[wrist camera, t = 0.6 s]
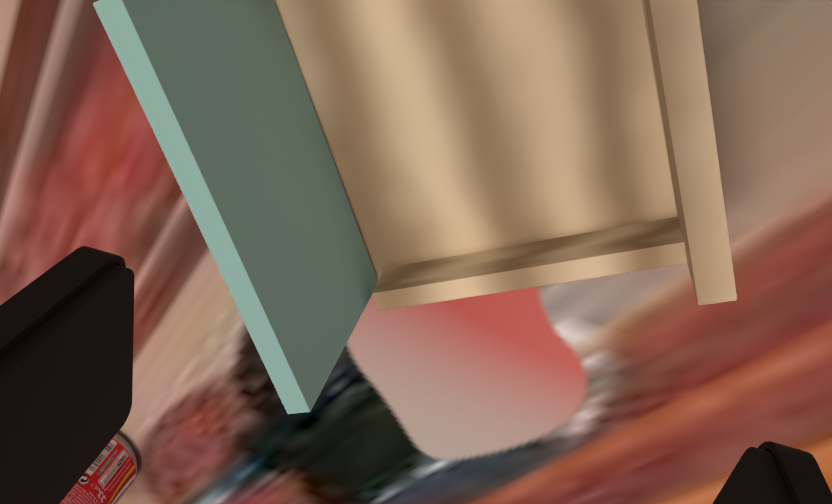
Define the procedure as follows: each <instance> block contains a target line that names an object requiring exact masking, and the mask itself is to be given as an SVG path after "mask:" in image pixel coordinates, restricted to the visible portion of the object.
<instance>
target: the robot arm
mask: <svg viewBox="0 0 832 504" xmlns="http://www.w3.org/2000/svg"><path fill="white" fill-rule="evenodd" d="M133 321H134V273H133V271H132V270H131V269H129V268H126V265H125V261H124V259H123V258H122V257H121V256H118V255H115V254H111V253H108V252H104V251H101V250H97V249H94V248H90V247H87V246H83V247H80V248H78V249H76V250H75V251H73V252H72V253H71V254H69V255H68V256H67V257H65V258H64V259H63V260H61V261H60V262H59V263H57V264H56V265H55V266H53V267H52V268H51V269H49V270H48V271H46V272H45V273H44V274H42V275H41V276H40V277H38V278H37V279H36V280H34V281H33V282H32V283H30V284H29V285H28V286H26V287H25V288H23V289H22V290H21V291H19V292H18V293H17V294H15V295H14V296H13V297H11V298H10V299H9V300H7V301H6V302H5V303H3V304H2V305H1V306H0V504H60V503H61V501H62V500H63V499H64V498H65V497H66V495H67V494H68V493H69V492H70V490H71V489H72V488H73V487H74V485H75V484H76V483H77V482H78V480H79V479H80V478H81V477H82V476H83V474H84V473H85V472H86V471H87V469H88V468H89V467H90V466H91V464H92V463H93V462H94V461H95V460H96V458H97V457H98V456H99V455H100V453H101V452H102V451H103V450H104V448H105V447H106V446H107V445H108V444H109V442H110V441H111V440H112V439H113V437H114V436H115V435H116V434H117V432H118V431H119V430H120V429H121V427H122V426H123V425H124V423H125V421H126V420H127V418H128V415H129V413H130V409H131V405H132V374H133ZM713 504H832V494H831V491H830V489H829V487H828V485H827V483H826V481H825V479H824V476H823V474H822V472H821V470H820V468H819V466H818V464H817V462H816V460H815V458H814V457H813V455H812V454H810V453H808V452H806V451H802V450H799V449H795V448H792V447H788V446H785V445H781V444H778V443H774V442H771V441H769V442H764V443H763V444H761V445H760V446H759V447H758V448H755V447H750V448H748V449H747V450H746V451H745V452H744V454H743V455H742V457H741V459H740V460H739V462H738V463H737V465H736V467H735V468H734V470H733V471H732V473H731V475H730V476H729V478H728V480H727V481H726V483H725V484H724V486H723V488H722V489H721V491H720V493H719V494H718V496H717V497H716V499H715V501H714V502H713Z"/></svg>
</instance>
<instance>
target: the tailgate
mask: <svg viewBox="0 0 832 504" xmlns="http://www.w3.org/2000/svg"><path fill="white" fill-rule="evenodd" d="M93 5H94V7H95V9H96V11H97V13H98V16H99V18H100V20H101V22H102V24H103V26H104V28H105V30H106V32H107V35H108V37H109V39H110V41H111V43H112V45H113V47H114V49H115V51H116V53H117V56H118V58H119V60H120V62H121V64H122V66H123V68H124V70H125V72H126V75H127V77H128V79H129V81H130V83H131V85H132V87H133V89H134V91H135V93H136V96H137V98H138V100H139V102H140V104H141V106H142V108H143V110H144V112H145V115H146V117H147V119H148V121H149V123H150V125H151V127H152V129H153V131H154V133H155V136H156V138H157V140H158V142H159V144H160V146H161V148H162V150H163V152H164V155H165V157H166V159H167V161H168V163H169V165H170V167H171V169H172V171H173V173H174V176H175V178H176V180H177V182H178V184H179V186H180V188H181V190H182V192H183V195H184V197H185V199H186V201H187V203H188V205H189V207H190V209H191V211H192V214H193V216H194V218H195V220H196V222H197V224H198V226H199V228H200V230H201V232H202V235H203V237H204V239H205V241H206V243H207V245H208V247H209V249H210V251H211V254H212V256H213V258H214V260H215V262H216V264H217V266H218V268H219V270H220V272H221V275H222V277H223V279H224V281H225V283H226V285H227V287H228V289H229V291H230V294H231V296H232V298H233V300H234V302H235V304H236V306H237V308H238V310H239V312H240V315H241V317H242V319H243V321H244V323H245V325H246V327H247V329H248V331H249V334H250V336H251V338H252V340H253V342H254V344H255V346H256V348H257V350H258V353H259V355H260V357H261V359H262V361H263V363H264V365H265V367H266V369H267V371H268V374H269V376H270V378H271V380H272V382H273V384H274V386H275V388H276V390H277V393H278V395H279V397H280V399H281V401H282V403H283V405H284V407H285V409H286V411H287V414H293V413H303V412H310V411H311V409H312V408H313V406H314V404H315V402H316V400H317V398H318V396H319V394H320V392H321V390H322V389H323V387H324V385H325V383H326V381H327V379H328V377H329V375H330V373H331V371H332V369H333V368H334V366H335V364H336V362H337V360H338V358H339V356H340V354H341V352H342V350H343V349H344V347H345V345H346V343H347V341H348V339H349V337H350V335H351V333H352V331H353V330H354V328H355V326H356V324H357V322H358V320H359V318H360V316H361V314H362V312H363V310H364V309H365V307H366V305H367V303H368V301H369V299H370V297H371V295H372V292H373V290H374V288H375V286H376V285H377V283H378V279H377V277H376V274H375V271H374V269H373V266H372V263H371V261H370V258H369V255H368V253H367V250H366V247H365V244H364V242H363V239H362V236H361V234H360V231H359V228H358V226H357V223H356V220H355V218H354V215H353V212H352V210H351V207H350V204H349V201H348V199H347V196H346V193H345V191H344V188H343V185H342V183H341V180H340V177H339V175H338V172H337V169H336V167H335V164H334V161H333V158H332V156H331V153H330V150H329V148H328V145H327V142H326V140H325V137H324V134H323V132H322V129H321V126H320V124H319V121H318V118H317V116H316V113H315V110H314V107H313V105H312V102H311V99H310V97H309V94H308V91H307V89H306V86H305V83H304V81H303V78H302V75H301V73H300V70H299V67H298V64H297V62H296V59H295V56H294V54H293V51H292V48H291V46H290V43H289V40H288V38H287V35H286V32H285V30H284V27H283V24H282V21H281V19H280V16H279V13H278V11H277V8H276V5H275V3H274V0H100V1H97V2H94V3H93Z"/></svg>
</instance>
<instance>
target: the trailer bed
mask: <svg viewBox="0 0 832 504" xmlns="http://www.w3.org/2000/svg"><path fill="white" fill-rule="evenodd" d="M274 3H275V5H276V8H277V11H278V13H279V16H280V19H281V21H282V24H283V27H284V30H285V32H286V35H287V38H288V40H289V43H290V46H291V48H292V51H293V54H294V56H295V59H296V62H297V64H298V67H299V70H300V73H301V75H302V78H303V81H304V83H305V86H306V89H307V91H308V94H309V97H310V99H311V102H312V105H313V107H314V110H315V113H316V116H317V118H318V121H319V124H320V126H321V129H322V132H323V134H324V137H325V140H326V142H327V145H328V148H329V150H330V153H331V156H332V158H333V161H334V164H335V167H336V169H337V172H338V175H339V177H340V180H341V183H342V185H343V188H344V191H345V193H346V196H347V199H348V201H349V204H350V207H351V210H352V212H353V215H354V218H355V220H356V223H357V226H358V228H359V231H360V234H361V236H362V239H363V242H364V244H365V247H366V250H367V253H368V255H369V258H370V261H371V263H372V266H373V269H374V271H375V274H376V277H377V279H378V283H377V285H376V286H375V288H374V290H373V292H372V295H373V298H374V300H375V303H376V306H377V308H378V311H382V310H389V309H395V308H402V307H408V306H414V305H420V304H427V303H433V302H440V301H446V300H453V299H460V298H466V297H472V296H479V295H485V294H491V293H498V292H504V291H510V290H517V289H524V288H530V287H537V286H543V285H549V284H556V283H562V282H569V281H575V280H582V279H588V278H594V277H601V276H607V275H614V274H620V273H627V272H633V271H639V270H646V269H652V268H659V267H665V266H672V265H678V264H684V263H688V267H689V270H690V274H691V278H692V282H693V286H694V290H695V294H696V297H697V301H698V305H705V304H712V303H720V302H727V301H735V300H737V296H736V288H735V281H734V273H733V266H732V258H731V251H730V243H729V236H728V228H727V221H726V214H725V206H724V199H723V191H722V184H721V176H720V169H719V161H718V154H717V146H716V139H715V131H714V124H713V117H712V109H711V102H710V94H709V87H708V79H707V72H706V64H705V57H704V49H703V42H702V34H701V27H700V20H699V12H698V5H697V0H274Z"/></svg>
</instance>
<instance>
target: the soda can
mask: <svg viewBox="0 0 832 504" xmlns="http://www.w3.org/2000/svg"><path fill="white" fill-rule="evenodd" d="M136 475H137V461H136V456H135V453H134V451H133V449H132V447H131V446H130V444H129V443H128V442H127V441H126V440H125V439H124V438H123V437H122V436H120V435H119V434H118V433H117V434H116V435H115V436H114V437H113V439H112V440H111V441H110V442H109V444H108V445H107V446H106V447H105V448H104V450H103V451H102V452H101V453H100V455H99V456H98V457H97V458H96V460H95V461H94V462H93V463H92V464H91V466H90V467H89V468H88V469H87V471H86V472H85V473H84V474H83V476H82V477H81V478H80V479H79V480H78V482H77V483H76V484H75V485H74V487H73V488H72V489H71V490H70V492H69V493H68V494H67V495H66V497H65V498H64V499H63V500H62V501H61V503H60V504H117V503H118V501H119V500H120V499H121V497H122V496H123V495H124V493H125V492H126V491H127V489H128V488H129V486H130V485H131V484H132V482H133V481H134V479H135V477H136Z"/></svg>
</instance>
